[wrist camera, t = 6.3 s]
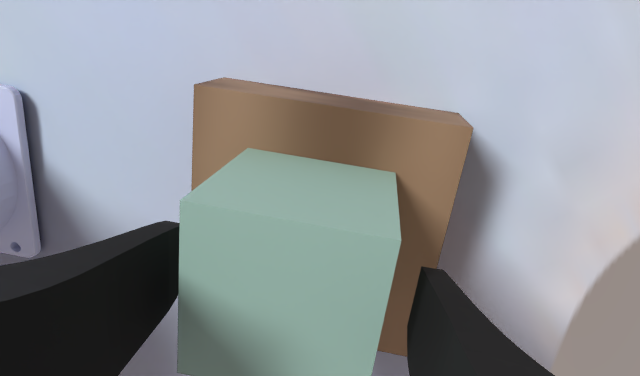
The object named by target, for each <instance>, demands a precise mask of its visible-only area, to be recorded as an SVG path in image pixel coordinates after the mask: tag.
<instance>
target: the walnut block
mask: <svg viewBox="0 0 640 376" xmlns="http://www.w3.org/2000/svg"><path fill="white" fill-rule="evenodd" d="M472 132H473V127H472V126H471V125H470V124H469V123H468V122H467V121H466V120H465V119H464V118H463V117H462V116H461V115H460V114H459V113H454V112H448V111H441V110H434V109H428V108H421V107H415V106H408V105H402V104H395V103H388V102H382V101H375V100H369V99H362V98H356V97H349V96H343V95H336V94H329V93H323V92H316V91H310V90H303V89H297V88H290V87H284V86H277V85H270V84H264V83H257V82H251V81H244V80H238V79H231V78H220V79H215V80H211V81H207V82H203V83H199V84H194V109H193V151H192V191H193V190H194V189H195V188H196V187H198V186H199V185H200V184H202V183H203V182H204V181H206V180H207V179H208V178H209V177H211V176H212V175H213V174H215V173H216V172H217V171H218V170H220V169H221V168H222V167H224V166H225V165H226V164H227V163H229V162H230V161H231V160H233V159H234V158H235V157H237V156H238V155H239V154H240V153H242V152H243V151H244V150H246V149H247V148H252V149H258V150H264V151H270V152H276V153H281V154H287V155H293V156H299V157H305V158H311V159H317V160H323V161H329V162H335V163H341V164H347V165H353V166H359V167H365V168H371V169H377V170H383V171H389V172H395V173H396V184H397V195H398V207H399V219H400V231H401V245H400V249H399V254H398V258H397V263H396V267H395V272H394V276H393V281H392V285H391V290H390V294H389V299H388V303H387V308H386V312H385V317H384V321H383V326H382V330H381V335H380V339H379V344H378V348H377V351H382V352H387V353H392V354H397V355H402V356H407V324H408V320H409V316H410V312H411V308H412V303H413V299H414V295H415V291H416V287H417V282H418V278H419V274H420V270H421V266H423V267H429V268H434V269H436V268H437V264H438V261H439V257H440V253H441V249H442V245H443V242H444V238H445V234H446V230H447V226H448V223H449V219H450V215H451V211H452V207H453V204H454V200H455V196H456V192H457V189H458V185H459V181H460V177H461V173H462V170H463V166H464V162H465V158H466V154H467V151H468V147H469V143H470V139H471V135H472Z"/></svg>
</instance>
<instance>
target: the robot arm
mask: <svg viewBox="0 0 640 376" xmlns="http://www.w3.org/2000/svg"><path fill="white" fill-rule="evenodd" d="M179 228H180V223H175V222H170V221H162V222H158V223H154V224H151V225H148V226H144V227H141V228H138V229H135V230H132V231H129V232H126V233H124V234H121V235H118V236H115V237H112V238H109V239H106V240H103V241H100V242H96V243H93V244H90V245H86V246H83V247H80V248H76V249H73V250H70V251H66V252H63V253H59V254H55V255H51V256H47V257H43V258H38V259H34V260H29V261H25V262H20V263H14V264H8V265H2V266H0V376H118V375H119V374H120V372H121V371H122V370H123V368H124V367H125V366H126V365H127V363H128V362H129V361H130V360H131V358H132V357H133V356H134V354H135V353H136V352H137V351H138V349H139V348H140V347H141V346H142V344H143V343H144V342H145V341H146V339H147V338H148V337H149V335H150V334H151V333H152V332H153V330H154V329H155V328H156V327H157V325H158V324H159V323H160V321H161V320H162V319H163V318H164V316H165V315H166V314H167V312H168V311H169V309H170V308H171V306H172V304H173V303H174V301H175V299H176V298H177V296H178V293H179ZM18 244H19V245H20V246H19V245H18ZM40 251H41V244H40V236H39V229H38V221H37V213H36V205H35V197H34V189H33V181H32V173H31V165H30V157H29V150H28V142H27V134H26V126H25V118H24V110H23V102H22V97H21V94H20V93H19V91H18V90H17V89H15V88H14V87H12V86H9V85H2V84H0V253H5V254H11V255H16V256H21V257H26V258H32V257H34V256H35V255H37V254H39V252H40ZM407 359H408V367H409V374H410V376H555V375H553V374H552V373H550V372H549V371H548V370H546V369H545V368H544V367H542V366H541V365H540V364H538V363H537V362H536V361H535V360H533V359H532V358H531V357H530V356H528V355H527V354H526V353H525V352H524V351H522V350H521V349H520V348H519V347H517V346H516V345H515V344H514V343H513V342H512V341H511V340H509V339H508V338H507V337H506V336H505V335H504V334H503V333H502V332H501V331H500V330H499V329H498V328H497V327H496V326H495V325H494V324H493V323H491V322H490V321H489V320H488V318H487V317H486V316H485V315H484V314H483V313H482V312H481V311H480V310H479V309H478V308H477V307H476V306H475V305H474V304H473V303H472V302H471V300H470V299H469V298H468V297H467V296H466V295H465V294H464V293H463V291H462V290H461V289H460V288H459V287H458V286H457V285H456V283H455V282H454V281H453V280H452V279H451V278H450V277H449V276H448V274H447V273H446V272H445V271H444V270H440V269H434V268H429V267H423V266H421V270H420V274H419V278H418V282H417V287H416V291H415V295H414V299H413V303H412V308H411V312H410V316H409V320H408V324H407Z"/></svg>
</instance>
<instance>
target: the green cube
mask: <svg viewBox="0 0 640 376" xmlns="http://www.w3.org/2000/svg"><path fill="white" fill-rule="evenodd" d="M400 245H401V231H400V219H399V207H398V195H397V184H396V173H395V172H389V171H383V170H377V169H371V168H365V167H359V166H353V165H347V164H341V163H335V162H329V161H323V160H317V159H311V158H305V157H299V156H293V155H287V154H281V153H276V152H270V151H264V150H258V149H252V148H247V149H246V150H244V151H243V152H242V153H240V154H239V155H238V156H237V157H235V158H234V159H233V160H231V161H230V162H229V163H227V164H226V165H225V166H224V167H222V168H221V169H220V170H218V171H217V172H216V173H215V174H213V175H212V176H211V177H209V178H208V179H207V180H206V181H204V182H203V183H202V184H200V185H199V186H198V187H196V188H195V189H194V190H193V191H191V192H190V193H189V194H187V195H186V196H185V197H184V198H182V199H181V200H180V228H179V293H178V359H177V373H181V374H186V375H190V376H371V375H372V371H373V366H374V362H375V357H376V353H377V348H378V344H379V339H380V335H381V330H382V326H383V321H384V317H385V312H386V308H387V303H388V299H389V294H390V290H391V285H392V281H393V276H394V272H395V267H396V263H397V258H398V254H399V249H400Z"/></svg>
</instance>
